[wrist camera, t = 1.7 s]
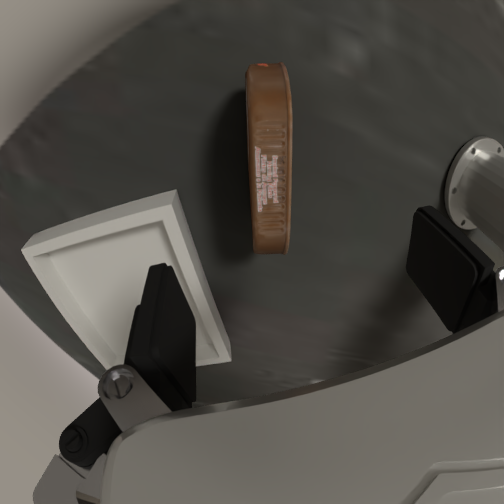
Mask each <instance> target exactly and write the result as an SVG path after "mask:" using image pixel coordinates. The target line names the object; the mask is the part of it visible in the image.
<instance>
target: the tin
mask: <svg viewBox="0 0 504 504" xmlns="http://www.w3.org/2000/svg"><path fill="white" fill-rule="evenodd" d="M245 89H246V116H247V150H248V171H249V187H250V205H251V221H252V235H253V251H254V253H256V254H284V255H285V254H287V251H288V247H289V240H290V220H291V183H292V103H291V93H290V84H289V78H288V73H287V70H286V67H285V65H284V63H282V62H279V63H278V64H251V65H249V67H248V70H247V71H246V74H245Z"/></svg>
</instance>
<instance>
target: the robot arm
mask: <svg viewBox="0 0 504 504" xmlns="http://www.w3.org/2000/svg"><path fill="white" fill-rule="evenodd" d="M445 206H446V210H447V213H448V215H449V217H450V219H451V220H452V221H453V222H454V223H455V224H456V225H457V226H459V227H460V228H462V229H466V230H468V229H475V228H479V229H480V230H481V231H482V232H483V233H484V234H485V235H486V236H487V237H489V238H490V239H491V240H492V241H493V242H494V243H495V244H496V245H497V246H498V247H499V248H500V249H501V250H502V251H503V252H504V149H503V147H502V146H501V145H500V144H499V143H498V142H497V141H495V140H494V139H492V138H489V137H486V136H480V137H476V138H474V139H472V140H470V141H469V142H467V143H466V144H465V145H464V146H463V147H462V148H461V150H460V151H459V152H458V154H457V155H456V157H455V159H454V161H453V162H452V165H451V167H450V170H449V173H448V176H447V180H446V186H445ZM494 265H495V263H494V262H493V261H492V260H491V259H490V258H489V257H488V256H487V255H486V254H485V253H484V252H483V251H482V250H481V249H480V248H479V247H478V246H477V245H476V244H474V243H473V242H472V241H471V240H470V239H469V238H468V237H467V236H466V235H465V234H464V233H463V232H461V231H460V230H459V229H458V228H457V227H456V226H455V225H454V224H452V223H451V222H450V221H449V220H448V219H447V218H445V217H444V216H443V215H442V214H441V213H439V212H438V211H437V210H436V209H435V208H433V207H432V206H425V207H420V208H418V209H417V210H416V212H415V213H414V216H413V224H412V232H411V239H410V246H409V252H408V258H407V264H406V270H407V273H408V275H409V276H410V277H411V279H412V280H413V281H414V283H415V284H416V285H417V287H418V288H419V289H420V291H421V292H422V293H423V295H424V296H425V298H426V299H427V300H428V302H429V303H430V305H431V306H432V307H433V309H434V310H435V312H436V313H437V315H438V316H439V317H440V319H441V320H442V322H443V323H444V325H445V326H446V328H447V329H448V330H449V331H452V333H453V334H452V335H450V336H448V337H446V338H444V339H441V340H439V341H437V342H434V343H432V344H430V345H427V346H425V347H422V348H420V349H418V350H415V351H413V352H410V353H407V354H405V355H402V356H400V357H397V358H394V359H392V360H389V361H386V362H383V363H380V364H377V365H375V366H372V367H369V368H366V369H362V370H359V371H356V372H353V373H350V374H346V375H343V376H340V377H336V378H333V379H329V380H326V381H322V382H318V383H315V384H311V385H307V386H303V387H299V388H295V389H291V390H286V391H282V392H277V393H272V394H268V395H263V396H258V397H253V398H247V399H242V400H237V401H231V402H225V403H219V404H213V405H206V406H201V407H195V408H192V402H195V401H196V321H195V317H194V315H193V312H192V310H191V308H190V306H189V304H188V301H187V299H186V297H185V295H184V292H183V290H182V288H181V285H180V283H179V281H178V279H177V276H176V274H175V271H174V269H173V267H172V266H171V265H170V266H167V264H166V263H160V264H156V265H152V266H150V267H149V270H148V274H147V278H146V282H145V286H144V290H143V294H142V299H141V303H140V304H139V305H137V306H136V308H135V311H134V316H133V320H132V325H131V329H130V334H129V339H128V343H127V348H126V354H125V359H124V364H119V365H116V366H113V367H111V368H110V369H108V370H107V371H106V372H105V373H104V374H103V375H102V377H101V378H100V380H99V384H98V394H99V396H100V398H99V399H97V400H96V401H95V402H94V403H93V404H92V405H91V406H90V407H88V408H87V409H86V410H85V411H84V412H83V413H82V414H81V415H80V416H79V417H77V419H75V420H74V421H73V422H72V423H71V424H70V425H69V426H67V427H66V428H65V430H64V431H63V432H62V434H61V436H60V440H59V449H60V452H61V453H60V454H59V456H58V455H54V457H53V459H52V461H51V462H50V464H49V466H48V467H47V469H46V471H45V472H44V474H43V475H42V478H41V479H40V481H39V482H38V484H37V486H36V487H35V490H34V492H33V501H34V504H504V266H501V267H499V268H497V270H496V272H494V271H493V267H494Z"/></svg>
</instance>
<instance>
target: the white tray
mask: <svg viewBox="0 0 504 504" xmlns="http://www.w3.org/2000/svg"><path fill="white" fill-rule="evenodd" d="M21 251H22V253H23V255H24V256H25V258H26V260H27V262H28V263H29V265H30V267H31V268H32V270H33V272H34V273H35V275H36V277H37V278H38V280H39V281H40V283H41V284H42V286H43V288H44V289H45V291H46V292H47V294H48V295H49V297H50V298H51V300H52V301H53V302H54V304H55V305H56V307H57V308H58V310H59V311H60V312H61V314H62V315H63V316H64V318H65V319H66V321H67V322H68V323H69V325H70V326H71V327H72V328H73V330H74V331H75V332H76V334H77V335H78V336H79V337H80V339H81V340H82V341H83V342H84V344H85V345H86V346H87V347H88V349H89V350H90V351H91V352H92V353H93V354H94V356H95V357H96V358H97V359H98V360H99V361H100V363H101V364H102V365H103V366H104V367H105V368H106V369H107V370H108V369H110V368H111V367H113V366H116V365H119V364H124V359H125V354H126V348H127V343H128V339H129V334H130V329H131V325H132V320H133V316H134V311H135V308H136V306H137V305H139V304H140V303H141V299H142V294H143V290H144V286H145V282H146V278H147V274H148V270H149V267H150V266H152V265H156V264H160V263H166V264H167V266H170V265H171V266H172V267H173V269H174V271H175V274H176V276H177V279H178V281H179V283H180V285H181V288H182V290H183V292H184V295H185V297H186V299H187V301H188V304H189V306H190V308H191V310H192V312H193V315H194V317H195V321H196V366H202V365H209V364H216V363H223V362H229V361H231V347H230V340H229V338H228V335H227V333H226V330H225V327H224V325H223V322H222V320H221V317H220V314H219V312H218V309H217V306H216V304H215V301H214V298H213V295H212V293H211V290H210V287H209V284H208V282H207V279H206V276H205V273H204V270H203V268H202V265H201V262H200V259H199V256H198V253H197V250H196V247H195V245H194V242H193V239H192V236H191V233H190V230H189V227H188V224H187V221H186V218H185V214H184V211H183V208H182V205H181V202H180V199H179V196H178V193H177V189H176V190H172V191H168V192H164V193H161V194H157V195H153V196H150V197H146V198H142V199H139V200H135V201H132V202H128V203H125V204H122V205H118V206H115V207H112V208H109V209H105V210H102V211H99V212H96V213H93V214H90V215H87V216H84V217H81V218H78V219H75V220H72V221H69V222H66V223H63V224H60V225H57V226H55V227H52V228H49V229H46V230H44V231H41V232H38V233H36V234H34V235H33V236H32V237H31V238H30V239H29V241H28V242H27V243H26V244H25V245H24V247H23V248H22V249H21Z"/></svg>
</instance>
